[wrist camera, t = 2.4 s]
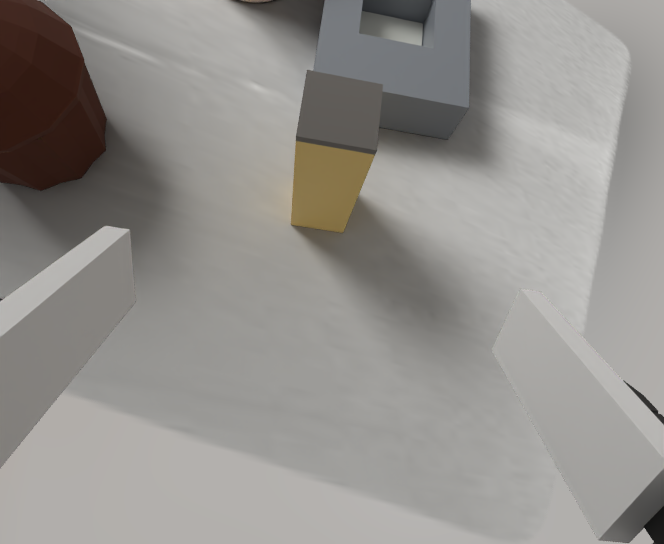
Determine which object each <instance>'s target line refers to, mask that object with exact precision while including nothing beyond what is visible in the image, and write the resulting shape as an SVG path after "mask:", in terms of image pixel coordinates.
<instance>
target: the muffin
mask: <svg viewBox="0 0 664 544" xmlns="http://www.w3.org/2000/svg"><path fill="white" fill-rule="evenodd" d="M106 120H107V119H106V116H105V114H104V111H103V109H102V106H101V103H100V101H99V98H98V96H97V93H96V91H95V88H94V86H93V83H92V81H91V78H90V75H89V73H88V70H87V68H86V65H85V63H84V58H83V55H82V53H81V50H80V48H79V45H78V43H77V40H76V37H75V35H74V32H73V30H72V27H71V26H70V25H69V24H68V23H66V22H65V21H64V20H63V19H62V18H60V17H59V16H58V15H57V14H56V13H54V12H53V11H52V10H51V9H50V8H48V7H47V6H46V5H45V4H44V3H42V2H40V1H37V0H0V182H3V183H11V184H19V185H24V186H27V187H30V188H33V189H37V190H40V191H42V190H44V189H47V188H49V187H52V186H54V185H57V184H59V183H63V182H67V181H71V180H75V179H80V178H82V177H83V175H84V174H85V172H86V171H87V170H88V168H89V167H90V166H91V164H92V163H93V162H94V161H95V160H96V159H97V158H98V157H99V156H100V155H101V154H103V153H104V152H105V151H106V146H105V136H104V134H105V127H106Z"/></svg>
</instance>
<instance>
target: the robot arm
mask: <svg viewBox="0 0 664 544" xmlns="http://www.w3.org/2000/svg"><path fill="white" fill-rule="evenodd" d="M135 302H136V296H135V284H134V273H133V261H132V249H131V237H130V229H124V228H117V227H110V226H104V227H102V228H101V229H100V230H98V231H97V232H95V233H94V234H93V235H91V236H90V237H89V238H87V239H86V240H84V241H83V242H82V243H80V244H79V245H77V246H76V247H75V248H73V249H72V250H71V251H69V252H68V253H66V254H65V255H64V256H62V257H61V258H59V259H58V260H57V261H55V262H54V263H53V264H51V265H50V266H48V267H47V268H46V269H44V270H43V271H42V272H40V273H39V274H37V275H36V276H35V277H33V278H32V279H30V280H29V281H28V282H26V283H25V284H24V285H22V286H21V287H19V288H18V289H17V290H15V291H14V292H12V293H11V294H10V295H8V296H7V297H6V298H4V299H0V468H1V467H2V466H3V464H4V463H5V462H6V461H7V459H8V458H9V457H10V456H11V454H12V453H13V452H14V451H15V449H16V448H17V447H18V446H19V445H20V443H21V442H22V441H23V440H24V438H25V437H26V436H27V435H28V434H29V432H30V431H31V430H32V429H33V427H34V426H35V425H36V424H37V423H38V421H39V420H40V419H41V417H42V416H43V415H44V414H45V412H46V411H47V410H48V409H49V408H50V407H51V405H52V404H53V403H54V401H55V400H56V399H57V398H58V397H59V395H60V394H61V393H62V392H63V391H64V389H65V388H66V387H67V386H68V384H69V383H70V382H71V381H72V380H73V378H74V377H75V376H76V375H77V373H78V372H79V371H80V370H81V368H82V367H83V366H84V365H85V364H86V362H87V361H88V360H89V359H90V357H91V356H92V355H93V354H94V352H95V351H96V350H97V349H98V348H99V346H100V345H101V344H102V343H103V341H104V340H105V339H106V338H107V337H108V335H109V334H110V333H111V332H112V330H113V329H114V328H115V327H116V325H117V324H118V323H119V322H120V321H121V319H122V318H123V317H124V316H125V314H126V313H127V312H128V311H129V309H130V308H131V307H132V306H133V305H134V303H135ZM492 352H493V354H494V356H495V357H496V359H497V361H498V363H499V365H500V366H501V368H502V370H503V372H504V373H505V375H506V377H507V379H508V381H509V382H510V384H511V386H512V388H513V390H514V391H515V393H516V395H517V397H518V398H519V400H520V402H521V404H522V406H523V407H524V409H525V411H526V413H527V414H528V416H529V418H530V420H531V422H532V423H533V425H534V427H535V429H536V430H537V432H538V434H539V436H540V438H541V439H542V441H543V443H544V445H545V446H546V448H547V450H548V452H549V454H550V455H551V457H552V459H553V461H554V462H555V464H556V466H557V468H558V470H559V471H560V473H561V475H562V477H563V479H564V480H565V482H566V484H567V485H568V487H569V489H570V491H571V492H572V495H573V496H574V498H575V500H576V502H577V503H578V505H579V507H580V509H581V510H582V512H583V514H584V516H585V517H586V519H587V521H588V523H589V525H590V526H591V528H592V530H593V532H594V534H595V535H596V537H597V539H598V540H603V541H613V542H623V543H629V542H630V541H631V540H632V539H633V538H634V537H635V536H636V535H637V534H638V533H639V532H640V531H641V530H642V529H643V528H645V529H646V531H647V532H648V534H649V535H650V537H651V538H652V540H654V543H653V544H664V417H663V416H662V415H661V414H658V410H657V409H656V408H655V407H654V406H653V405H652V404H651V403H650V402H649V401H648V400H647V399H646V398H645V397H644V395H642V394H641V393H640V392H638V391H637V390H636V389H634V388H633V387H632V386H630V385H629V384H628V383H626V382H625V381H623V380H622V379H621V378H620V377H619V376H618V375H617V374H616V373H615V371H614V370H613V369H612V368H611V367H610V366H609V365H608V364H607V363H606V362H605V361H604V360H603V358H602V357H601V356H600V355H599V354H598V353H597V352H596V351H595V350H594V349H593V348H592V347H591V345H590V344H589V343H588V342H587V341H586V340H585V339H584V338H583V337H582V336H581V335H580V333H579V332H578V331H577V330H576V329H575V328H574V327H573V326H572V325H571V324H570V323H569V322H568V320H567V319H566V318H565V317H564V316H563V315H562V314H561V313H560V312H559V311H558V310H557V309H556V307H555V306H554V305H553V304H552V303H551V302H550V301H549V300H548V299H547V298H546V297H545V296H544V294H543V293H542V292H540V291H533V290H527V289H520V290H519V292H518V294H517V296H516V299H515V301H514V303H513V305H512V307H511V309H510V311H509V313H508V316H507V318H506V320H505V322H504V324H503V326H502V328H501V330H500V333H499V335H498V337H497V339H496V341H495V343H494V345H493V347H492Z"/></svg>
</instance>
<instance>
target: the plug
mask: <svg viewBox="0 0 664 544" xmlns="http://www.w3.org/2000/svg"><path fill="white" fill-rule="evenodd" d="M382 91H383V84H378V83H373V82H368V81H363V80H358V79H352V78H347V77H342V76H337V75H332V74H326V73H321V72H316V71H311V70H307V74H306V80H305V86H304V92H303V98H302V104H301V110H300V116H299V122H298V128H297V134H296V147H295V164H294V182H293V199H292V216H291V225H295V226H302V227H308V228H314V229H321V230H327V231H334V232H340V233H343V232H344V229H345V227H346V225H347V222H348V220H349V217H350V215H351V212H352V210H353V207H354V205H355V203H356V200H357V198H358V195H359V193H360V190H361V188H362V185H363V183H364V181H365V178H366V176H367V173H368V171H369V168H370V166H371V163H372V161H373V159H374V156H375V154H376V151H377V144H378V133H379V123H380V112H381V102H382Z"/></svg>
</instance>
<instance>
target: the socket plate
mask: <svg viewBox="0 0 664 544" xmlns="http://www.w3.org/2000/svg"><path fill="white" fill-rule="evenodd" d="M470 17H471V0H325V2H324V8H323V14H322V20H321V27H320V33H319V39H318V45H317V51H316V58H315V64H314V70H313V71H316V72H321V73H326V74H332V75H337V76H342V77H347V78H352V79H358V80H363V81H368V82H373V83H378V84H383V91H382V102H381V112H380V123H379V127H381V128H386V129H392V130H397V131H403V132H408V133H414V134H419V135H425V136H430V137H436V138H441V139H447V140H448V138H449V137H450V135H451V134H452V132H453V131H454V129H455V128H456V126H457V125H458V123H459V122H460V120H461V119H462V118H463V116H464V115H465V113H466V112H467V110H468V109H469V81H470Z"/></svg>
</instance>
